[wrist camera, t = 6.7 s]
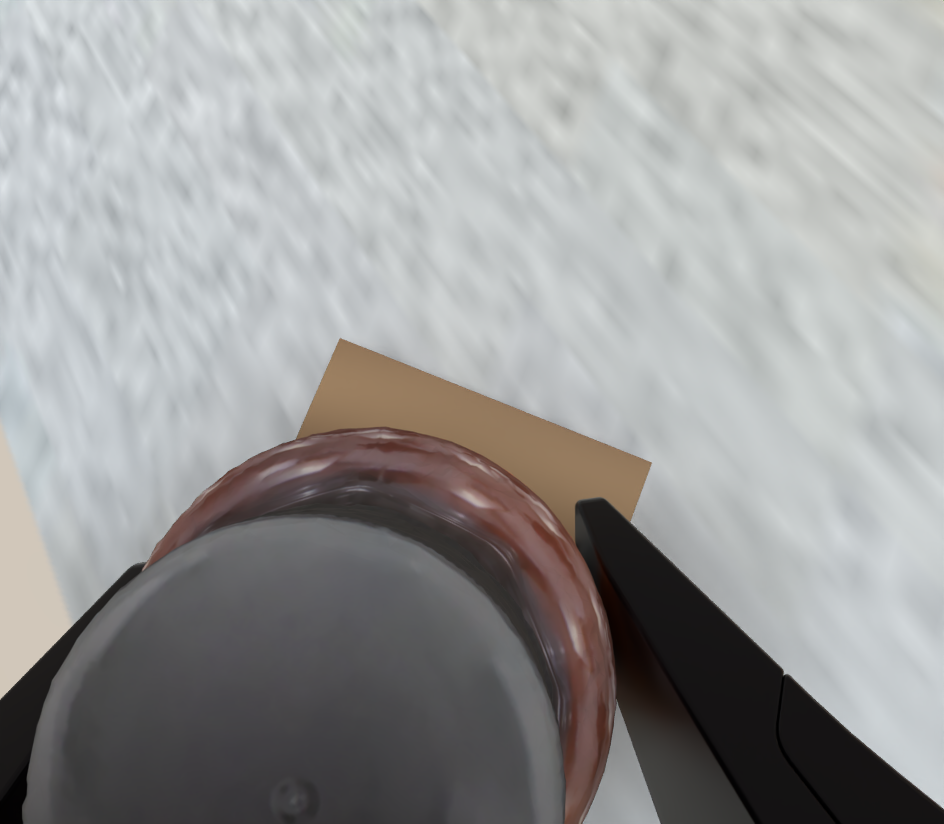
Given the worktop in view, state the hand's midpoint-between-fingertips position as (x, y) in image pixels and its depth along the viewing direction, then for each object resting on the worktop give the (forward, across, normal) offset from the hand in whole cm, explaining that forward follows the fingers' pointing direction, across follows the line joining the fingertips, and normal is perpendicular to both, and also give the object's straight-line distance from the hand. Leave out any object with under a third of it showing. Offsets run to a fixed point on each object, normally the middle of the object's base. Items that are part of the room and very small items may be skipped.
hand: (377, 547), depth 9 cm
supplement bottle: (+4, 0, +6) cm, 7 cm away
